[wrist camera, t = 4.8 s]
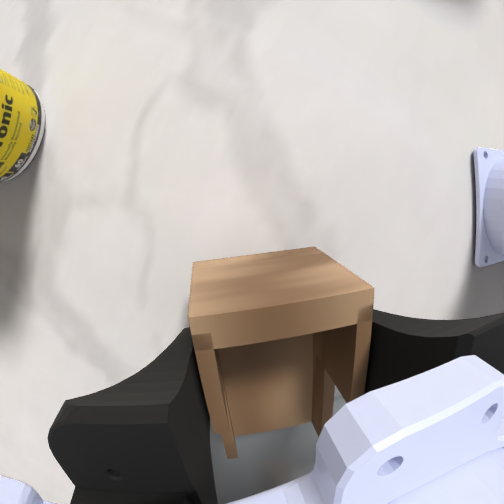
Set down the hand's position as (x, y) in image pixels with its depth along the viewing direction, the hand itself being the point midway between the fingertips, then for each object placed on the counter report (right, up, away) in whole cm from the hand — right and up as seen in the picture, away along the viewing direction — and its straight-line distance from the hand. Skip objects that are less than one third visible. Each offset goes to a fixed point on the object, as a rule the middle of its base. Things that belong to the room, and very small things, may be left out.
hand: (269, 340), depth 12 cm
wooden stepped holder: (0, -1, +2) cm, 2 cm away
